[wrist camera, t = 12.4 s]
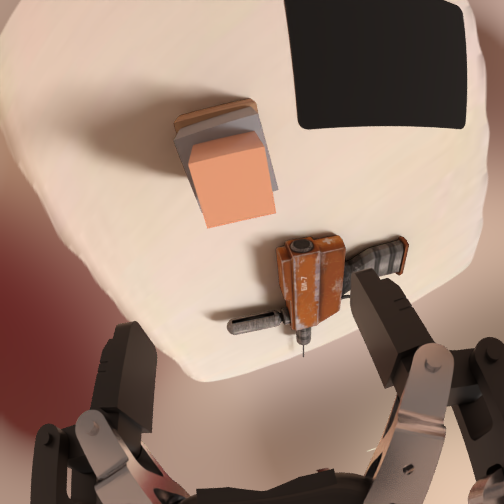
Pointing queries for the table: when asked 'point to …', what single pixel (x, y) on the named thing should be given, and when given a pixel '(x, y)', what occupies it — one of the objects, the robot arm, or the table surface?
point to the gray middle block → (217, 129)
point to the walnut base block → (212, 113)
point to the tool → (319, 282)
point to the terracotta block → (232, 179)
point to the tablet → (378, 63)
